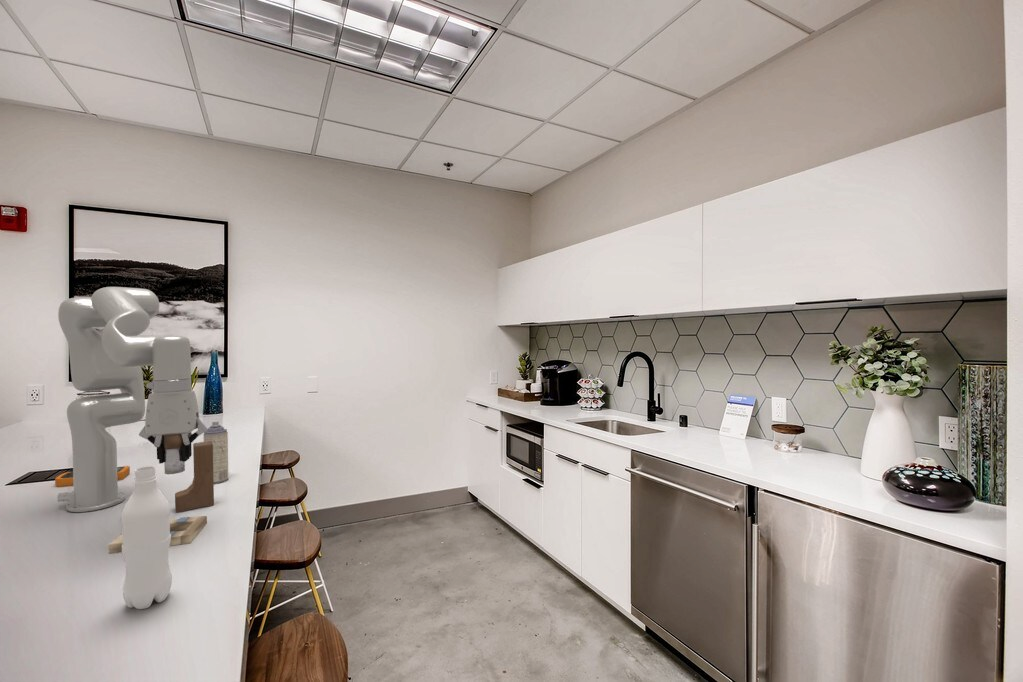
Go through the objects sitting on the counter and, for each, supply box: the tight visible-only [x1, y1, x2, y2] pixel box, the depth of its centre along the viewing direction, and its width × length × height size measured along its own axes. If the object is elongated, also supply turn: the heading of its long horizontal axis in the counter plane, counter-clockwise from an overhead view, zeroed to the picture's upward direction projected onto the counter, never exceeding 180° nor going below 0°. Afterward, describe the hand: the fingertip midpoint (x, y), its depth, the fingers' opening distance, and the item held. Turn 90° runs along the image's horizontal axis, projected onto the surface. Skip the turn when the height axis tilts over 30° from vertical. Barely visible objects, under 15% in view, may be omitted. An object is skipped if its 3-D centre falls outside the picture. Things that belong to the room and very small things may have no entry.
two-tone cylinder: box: [163, 434, 186, 475], centre depth 113 cm, size 4×4×12 cm
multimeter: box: [54, 465, 131, 488], centre depth 156 cm, size 9×18×3 cm, turn 116°
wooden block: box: [174, 441, 215, 513], centre depth 132 cm, size 9×4×18 cm, turn 127°
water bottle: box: [120, 465, 173, 610], centre depth 86 cm, size 7×7×25 cm
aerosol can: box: [202, 420, 229, 485], centre depth 155 cm, size 7×7×20 cm
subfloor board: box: [107, 515, 208, 554], centre depth 113 cm, size 16×12×2 cm
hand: (174, 460), depth 113 cm, fingers closed on two-tone cylinder, 4 cm apart
